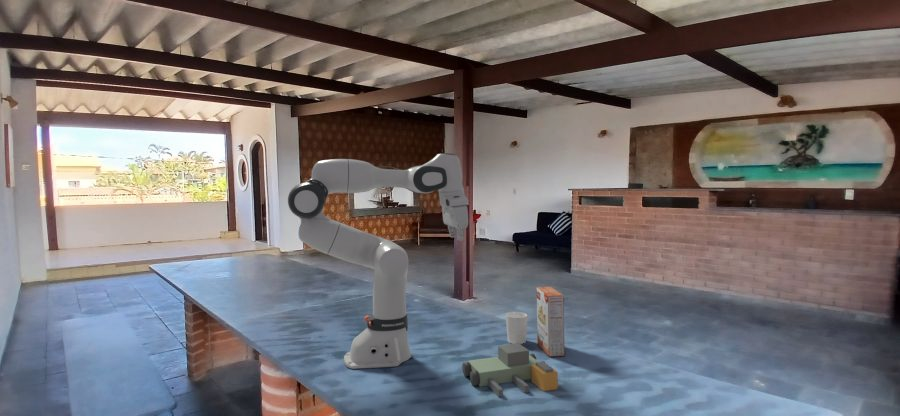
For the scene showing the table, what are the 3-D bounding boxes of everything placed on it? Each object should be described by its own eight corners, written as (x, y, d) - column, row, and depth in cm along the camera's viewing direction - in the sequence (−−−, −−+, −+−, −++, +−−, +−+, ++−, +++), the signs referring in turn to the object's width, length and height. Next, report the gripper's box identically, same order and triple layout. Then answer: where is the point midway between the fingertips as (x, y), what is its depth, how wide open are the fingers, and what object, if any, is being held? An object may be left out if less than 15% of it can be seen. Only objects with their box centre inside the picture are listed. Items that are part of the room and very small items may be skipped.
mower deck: (484, 399, 124) (484, 370, 124) (462, 373, 142) (461, 347, 142) (560, 387, 131) (560, 359, 131) (530, 364, 149) (530, 339, 148)
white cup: (527, 345, 166) (527, 318, 166) (505, 344, 168) (504, 317, 167) (528, 338, 174) (527, 312, 174) (506, 337, 176) (506, 311, 175)
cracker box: (536, 343, 168) (535, 286, 167) (552, 342, 169) (552, 286, 168) (547, 357, 154) (547, 295, 153) (565, 356, 155) (564, 294, 154)
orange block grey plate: (543, 391, 129) (543, 371, 129) (531, 381, 136) (531, 362, 135) (557, 389, 130) (557, 368, 130) (545, 379, 137) (545, 360, 137)
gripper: (436, 199, 170) (440, 236, 171) (451, 201, 150) (455, 243, 152) (453, 197, 172) (457, 234, 173) (469, 199, 152) (474, 240, 153)
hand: (456, 238), depth 162 cm, fingers open, 8 cm apart
